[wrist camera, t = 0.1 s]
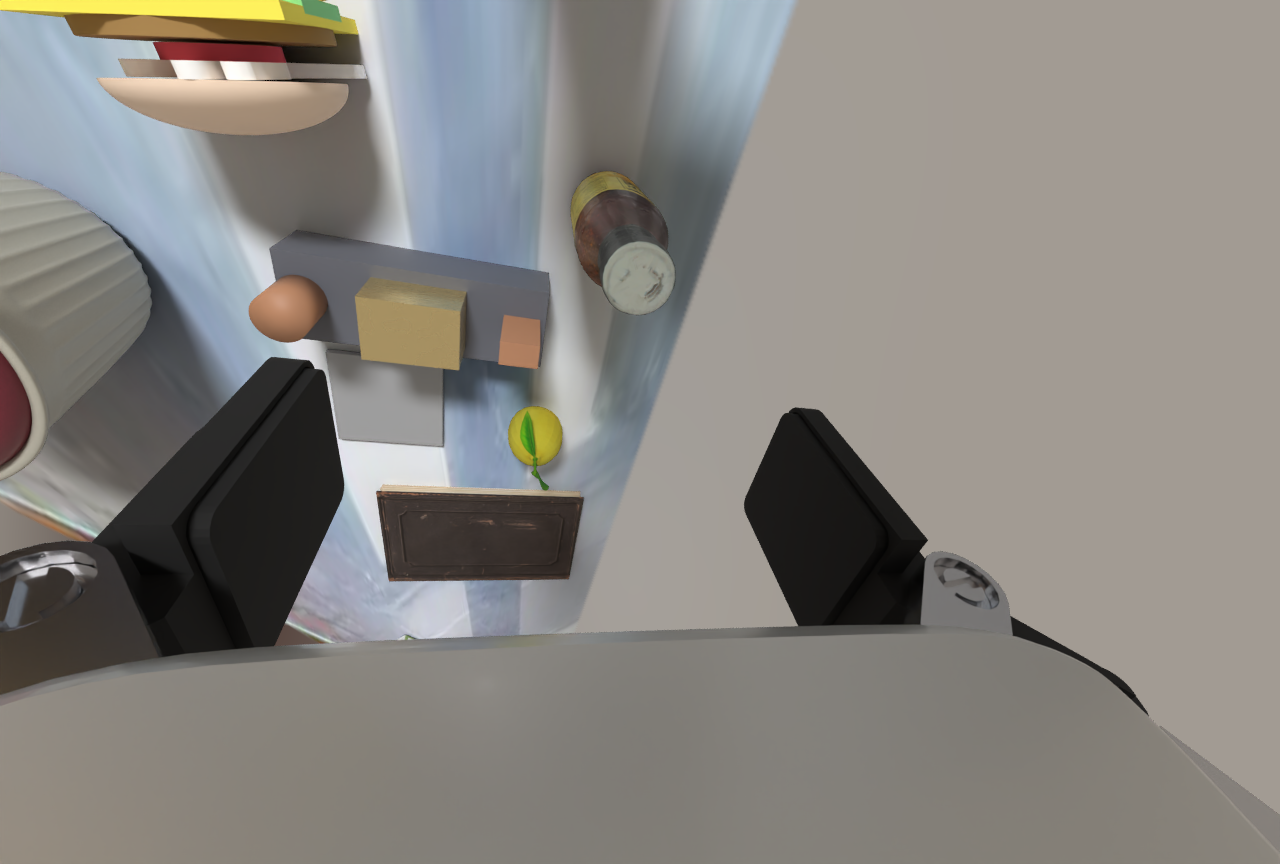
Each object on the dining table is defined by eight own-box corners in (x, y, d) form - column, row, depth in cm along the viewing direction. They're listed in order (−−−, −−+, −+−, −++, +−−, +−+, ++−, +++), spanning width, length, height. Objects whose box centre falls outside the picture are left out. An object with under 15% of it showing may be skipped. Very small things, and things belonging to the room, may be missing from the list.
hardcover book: (381, 478, 55) (376, 492, 54) (582, 486, 61) (583, 499, 59) (393, 569, 64) (389, 584, 63) (567, 568, 70) (568, 581, 68)
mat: (327, 349, 45) (325, 352, 45) (443, 362, 48) (442, 365, 47) (340, 435, 51) (338, 438, 50) (443, 443, 53) (442, 446, 53)
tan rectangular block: (370, 277, 37) (354, 296, 34) (466, 291, 39) (460, 311, 36) (375, 336, 40) (361, 359, 37) (465, 347, 42) (459, 370, 39)
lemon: (547, 446, 56) (549, 508, 48) (498, 428, 53) (491, 491, 45) (575, 402, 53) (581, 461, 45) (525, 381, 50) (522, 439, 43)
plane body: (292, 229, 39) (229, 270, 31) (548, 272, 44) (550, 317, 36) (306, 311, 43) (253, 366, 35) (540, 342, 48) (540, 396, 40)
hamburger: (200, 125, 34) (71, 146, 25) (129, -37, 29) (-66, -88, 20) (381, 126, 36) (325, 147, 27) (343, -27, 31) (257, -69, 22)
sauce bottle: (650, 230, 44) (712, 321, 28) (585, 256, 44) (611, 360, 28) (626, 151, 40) (683, 205, 24) (555, 180, 40) (565, 252, 24)
